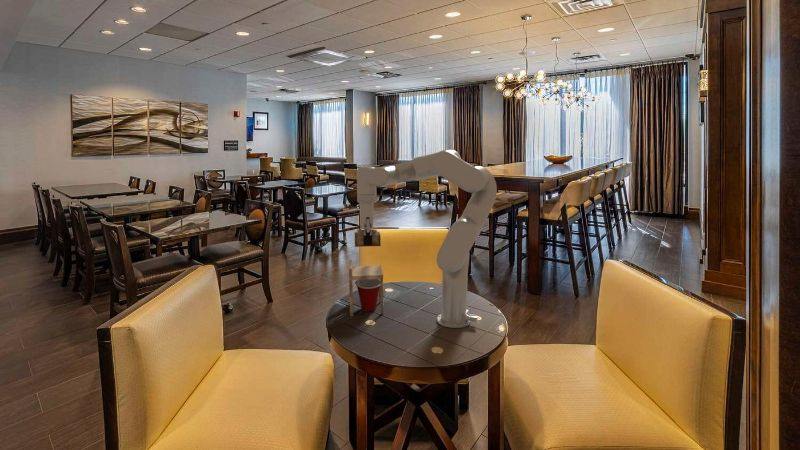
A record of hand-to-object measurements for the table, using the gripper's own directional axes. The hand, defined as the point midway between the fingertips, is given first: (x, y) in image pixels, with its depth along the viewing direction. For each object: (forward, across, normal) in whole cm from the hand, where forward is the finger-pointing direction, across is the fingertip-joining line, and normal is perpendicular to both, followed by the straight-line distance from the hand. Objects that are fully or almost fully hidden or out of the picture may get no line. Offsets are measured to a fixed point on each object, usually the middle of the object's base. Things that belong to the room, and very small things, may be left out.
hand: (367, 242), depth 170 cm
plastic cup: (+28, 0, 0) cm, 28 cm away
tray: (+1, 0, 0) cm, 1 cm away
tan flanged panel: (+28, 0, -1) cm, 28 cm away
